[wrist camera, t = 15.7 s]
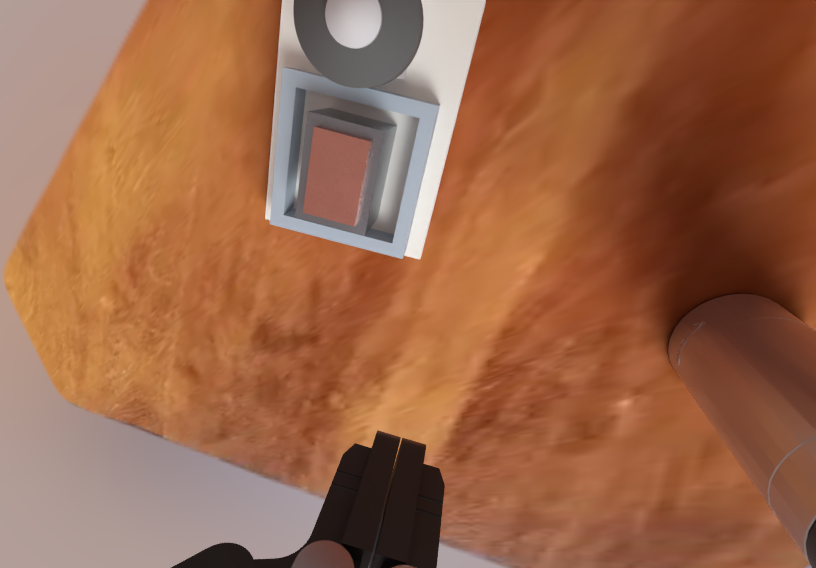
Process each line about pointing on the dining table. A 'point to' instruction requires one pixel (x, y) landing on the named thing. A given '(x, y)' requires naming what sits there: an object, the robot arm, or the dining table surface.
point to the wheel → (359, 38)
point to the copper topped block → (343, 169)
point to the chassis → (391, 103)
